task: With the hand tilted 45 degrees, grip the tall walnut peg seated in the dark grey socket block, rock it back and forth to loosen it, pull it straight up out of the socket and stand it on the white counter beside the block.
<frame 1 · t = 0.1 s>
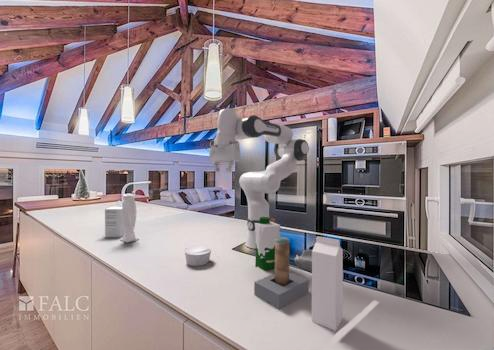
hand: (222, 171, 108), 39 cm above the counter, tool pointing down, fingers open, 8 cm apart
supplement box: (116, 235, 142), on the counter
dish: (313, 267, 96), on the counter
milk: (327, 324, 60), on the counter
ramekin: (197, 262, 100), on the counter
peg: (281, 293, 73), point 1 cm above the counter, touching socket block
socket block: (281, 296, 73), on the counter
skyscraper: (129, 241, 131), on the counter
milk carton: (267, 268, 94), on the counter
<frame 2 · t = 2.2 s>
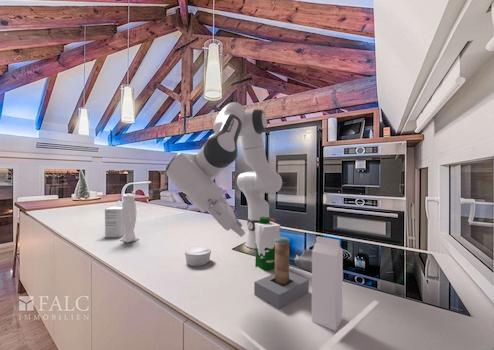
hand: (241, 230, 71), 21 cm above the counter, tool tilted 45°, fingers open, 8 cm apart
nothing on the counter moved.
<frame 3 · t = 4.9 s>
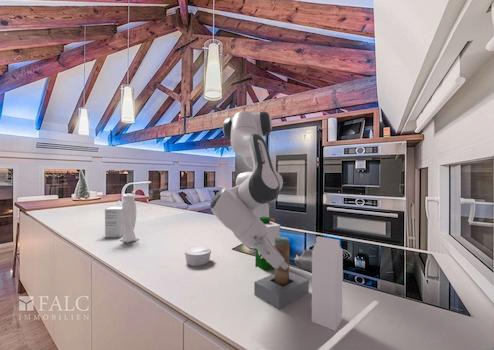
hand: (283, 263, 72), 10 cm above the counter, tool tilted 45°, fingers closed on peg, 4 cm apart
peg: (281, 293, 73), point 1 cm above the counter, touching gripper, socket block
everything else where it was.
when the fingers open (10 cm above the counter, at t = 12.9 s): peg drops 1 cm, on the counter.
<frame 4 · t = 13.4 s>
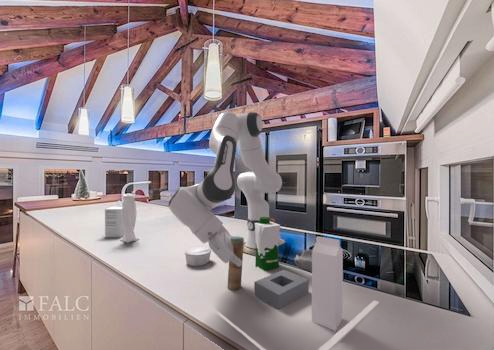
hand: (239, 258, 76), 10 cm above the counter, tool tilted 45°, fingers open, 8 cm apart
peg: (234, 289, 77), on the counter
everything else where it was.
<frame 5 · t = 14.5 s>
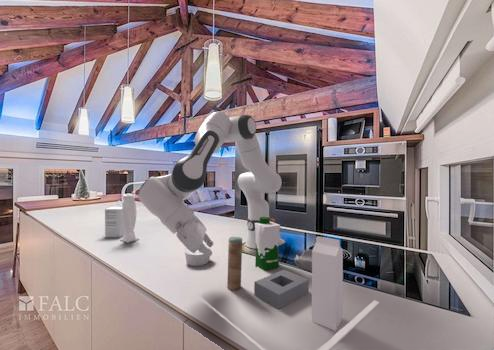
hand: (211, 249, 75), 14 cm above the counter, tool tilted 45°, fingers open, 8 cm apart
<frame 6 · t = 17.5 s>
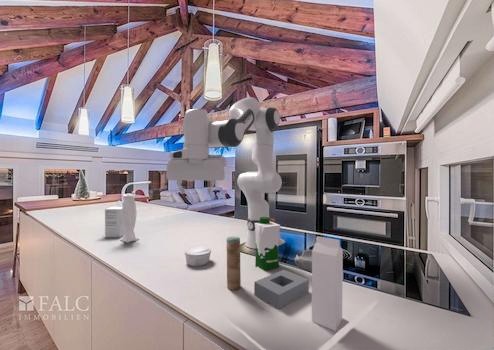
hand: (196, 193, 83), 31 cm above the counter, tool pointing down, fingers open, 8 cm apart
nothing on the counter moved.
at the end: peg inside the target area (1.2 cm from its centre), on the counter; peg tilted 1°; peg touching counter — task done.
